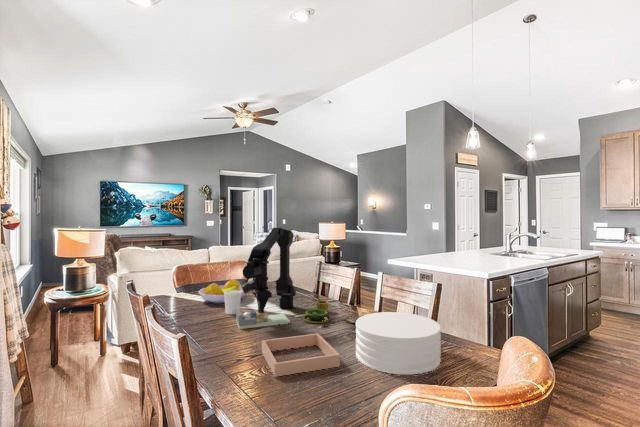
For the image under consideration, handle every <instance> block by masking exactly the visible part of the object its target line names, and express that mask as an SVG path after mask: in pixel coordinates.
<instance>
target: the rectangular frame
mask: <svg viewBox="0 0 640 427" xmlns="http://www.w3.org/2000/svg"><path fill="white" fill-rule="evenodd" d="M313 345H316V347H317V346H318V347H319V348H320V349H321V350H322V351H321V350H320V349H319V348H318V347H317V348H318V349H319V350H320V351H321V352H322V353H323V354H324V355H319V356H314V357H313V356H312V357H306V358H298V359H292V360H286V361H279V362H277V359H276V357H275V356H274V355H273V353H272V352H277V351H276V350H279V351H285V350H284V349H286V350H292V349H291V348H294V349H300V348H299V347H301V348H306V347H305V346H308V347H314V346H313ZM271 351H272V352H271ZM261 353H262V355H263V357H264V359H265V361H266V363H267V365H268V368H269V369H270V368H271V369H270V371H271V373H272V372H273V373H272V375H273V374H274V375H273V377H274V376H282V375H287V374H294V373H300V372H307V373H309V372H308V371H314V372H316V371H315V370H320V371H322V370H321V369H326V368H332V367H337V366H340V367H341V354H340V353H339V352H338V351H337V350H336V349H335V348H334V347H332V345H331V344H330V343H329V342H327V340H325V339H324V338H323V336H321V335H320V333H317V332H316V333H310V334H302V335H301V334H300V335H295V336H285V337H277V338H270V339H261ZM332 369H333V368H332ZM326 370H327V369H326Z"/></svg>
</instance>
